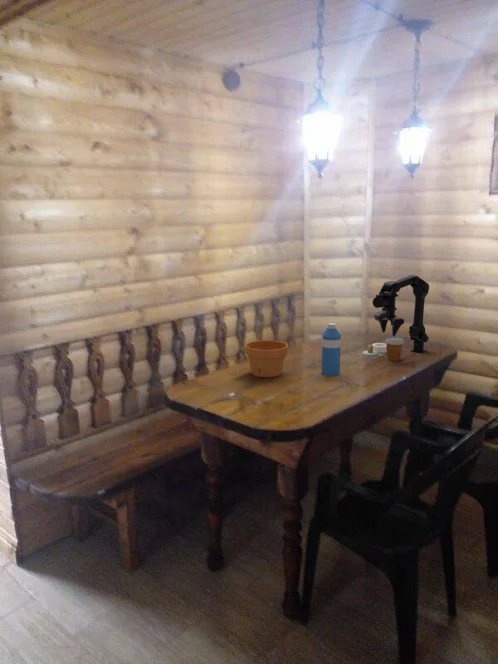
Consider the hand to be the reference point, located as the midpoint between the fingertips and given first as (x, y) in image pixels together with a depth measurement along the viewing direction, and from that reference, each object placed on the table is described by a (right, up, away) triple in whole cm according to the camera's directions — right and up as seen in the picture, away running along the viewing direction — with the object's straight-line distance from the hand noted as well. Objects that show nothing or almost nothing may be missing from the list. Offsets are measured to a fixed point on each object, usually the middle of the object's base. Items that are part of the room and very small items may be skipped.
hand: (388, 334), depth 299 cm
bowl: (0, -10, +17) cm, 20 cm away
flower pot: (-66, -20, -21) cm, 72 cm away
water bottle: (-34, -19, -21) cm, 45 cm away
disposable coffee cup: (+2, -14, -1) cm, 15 cm away
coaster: (-8, -12, +9) cm, 17 cm away
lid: (-8, -11, +9) cm, 16 cm away
